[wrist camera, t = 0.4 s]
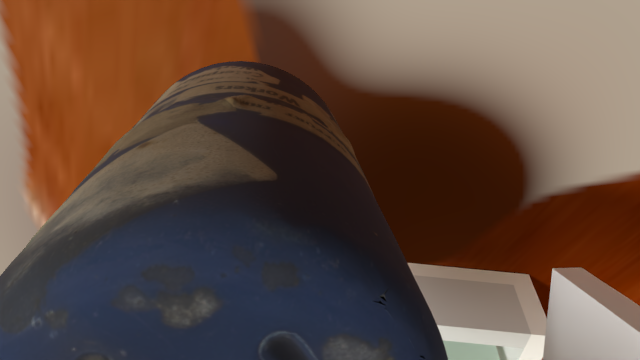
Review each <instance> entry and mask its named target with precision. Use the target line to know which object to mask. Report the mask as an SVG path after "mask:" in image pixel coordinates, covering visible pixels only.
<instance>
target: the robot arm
mask: <svg viewBox="0 0 640 360" xmlns="http://www.w3.org/2000/svg"><path fill="white" fill-rule="evenodd" d="M543 360H640V306H639V305H637V304H636V303H634V302H633V301H631V300H630V299H628V298H627V297H625V296H624V295H622V294H621V293H619V292H618V291H616V290H615V289H613V288H612V287H610V286H608V285H607V284H605V283H604V282H602V281H601V280H599V279H598V278H596V277H595V276H593V275H592V274H590V273H589V272H587V271H586V270H584V269H583V268H552V277H551V287H550V296H549V306H548V315H547V325H546V334H545V344H544V353H543Z"/></svg>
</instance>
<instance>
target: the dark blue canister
mask: <svg viewBox="0 0 640 360" xmlns="http://www.w3.org/2000/svg"><path fill="white" fill-rule="evenodd" d="M0 360H448V357H447V353H446V349H445V346H444V343H443V340H442V337H441V334H440V331H439V329H438V326H437V324H436V322H435V319H434V317H433V315H432V312H431V310H430V308H429V306H428V304H427V302H426V300H425V298H424V296H423V294H422V292H421V290H420V288H419V286H418V284H417V282H416V280H415V278H414V276H413V274H412V272H411V269H410V267H409V265H408V263H407V262H406V259H405V258H404V255H403V253H402V251H401V249H400V247H399V245H398V243H397V241H396V239H395V237H394V235H393V233H392V231H391V229H390V227H389V225H388V223H387V221H386V219H385V217H384V215H383V213H382V211H381V209H380V208H379V205H378V204H377V202H376V199H375V197H374V195H373V192H372V190H371V188H370V186H369V184H368V181H367V179H366V177H365V175H364V173H363V171H362V168H361V167H360V164H359V162H358V160H357V159H356V156H355V153H354V150H353V148H352V145H351V143H350V141H349V140H348V139H347V137H345V136H344V134H343V132H342V130H341V129H340V127H339V125H338V123H337V121H336V120H335V117H334V116H333V114H332V113H331V111H330V110H329V108H328V107H327V105H326V104H325V102H324V101H323V100H322V99H321V98H320V97H319V96H318V95H317V93H315V91H313V90H312V89H311V88H310V87H309V86H308V85H306V84H305V83H304V82H303V81H301V80H300V79H298V78H296V77H295V76H293V75H291V74H289V73H288V72H286V71H283V70H281V69H278V68H276V67H273V66H269V65H266V64H261V63H255V62H244V61H239V62H225V63H218V64H214V65H210V66H207V67H204V68H201V69H199V70H197V71H195V72H192V73H190V74H188V75H187V76H185V77H183V78H182V79H180V80H179V81H177V82H176V83H175V84H173V85H172V86H171V87H170V88H169V89H168V90H167V91H166V92H165V93H164V94H163V95H162V96H161V97H160V98H159V99H158V100H157V101H156V103H155V104H154V105H153V106H152V107H151V108H150V109H149V110H148V111H147V113H146V114H145V115H144V116H143V117H142V118H141V120H140V121H139V122H138V123H137V124H136V125H135V126H134V127H133V128H132V129H131V130H130V131H129V132H127V133H126V134H125V135H124V136H123V137H122V138H120V139H119V140H118V141H117V142H116V143H115V144H114V146H113V147H112V148H111V149H110V150H109V151H108V152H107V154H106V155H105V156H104V157H103V158H102V160H101V161H100V162H99V163H98V164H97V166H96V167H95V168H94V169H93V170H92V171H91V172H90V173H89V174H88V176H87V177H86V178H85V179H84V180H83V181H82V182H81V183H80V184H79V185H78V187H77V188H76V189H75V190H74V191H73V193H72V194H71V195H70V196H69V198H68V199H67V200H66V201H65V202H64V203H63V204H62V206H61V207H60V208H59V209H58V210H57V211H56V212H55V213H54V214H53V215H52V216H51V217H50V218H49V219H48V221H47V222H46V223H45V224H44V225H43V226H42V227H41V228H40V230H39V231H38V232H37V233H36V234H35V235H34V237H33V238H32V239H31V240H30V242H29V243H28V244H27V246H26V247H25V248H24V249H23V251H22V252H21V253H20V254H19V255H18V256H17V257H16V258H15V259H14V260H13V262H12V263H11V264H10V265H9V266H8V267H7V269H6V270H5V271H4V272H3V274H2V275H1V276H0Z"/></svg>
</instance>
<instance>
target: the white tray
mask: <svg viewBox="0 0 640 360" xmlns="http://www.w3.org/2000/svg"><path fill="white" fill-rule="evenodd" d="M408 265H409V267H410V269H411V272H412V274H413V276H414V278H415V280H416V282H417V284H418V286H419V288H420V290H421V292H422V294H423V296H424V298H425V300H426V302H427V304H428V306H429V308H430V310H431V312H432V315H433V317H434V319H435V322H436V324H437V326H438V329H439V331H440V334H441V337H442V340H444V341H454V342H464V343H474V344H484V345H494V346H496V348H497V351H498V355H499V359H500V360H541V359H542V358H543V353H544V344H545V334H546V325H547V318H546V315H545V313H544V310H543V308H542V305H541V303H540V301H539V298H538V296H537V293H536V291H535V288H534V286H533V283H532V281H531V279H530V276H529V274H519V273H509V272H498V271H488V270H478V269H467V268H457V267H447V266H436V265H426V264H416V263H408Z"/></svg>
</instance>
